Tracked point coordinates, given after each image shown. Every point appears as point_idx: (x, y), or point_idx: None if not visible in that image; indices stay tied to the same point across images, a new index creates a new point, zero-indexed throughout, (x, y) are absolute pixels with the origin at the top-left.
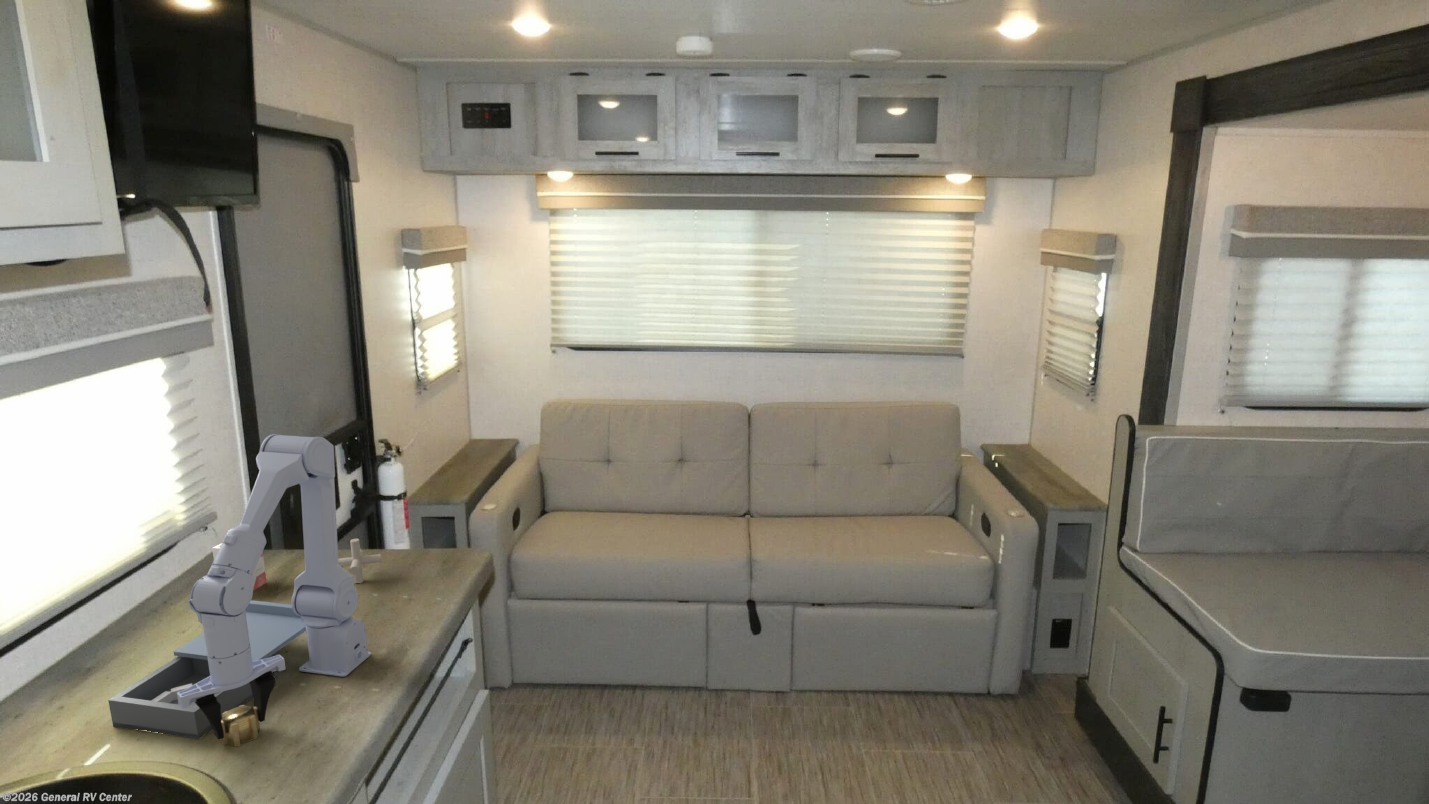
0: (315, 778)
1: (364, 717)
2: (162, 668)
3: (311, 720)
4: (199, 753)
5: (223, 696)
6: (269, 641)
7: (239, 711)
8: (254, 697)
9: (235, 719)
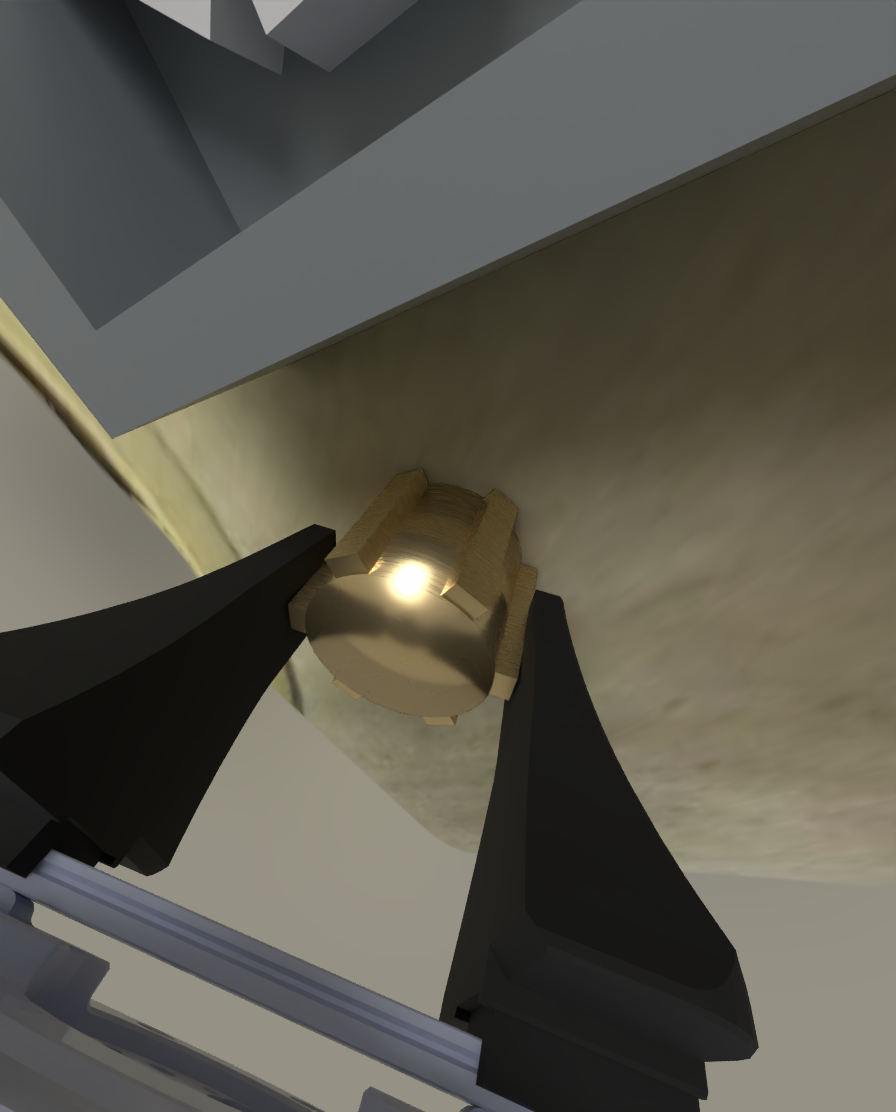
0: (462, 827)
1: (787, 850)
2: None
3: (699, 722)
4: (268, 489)
5: (448, 285)
6: None
7: (414, 643)
8: (522, 722)
9: (362, 675)
